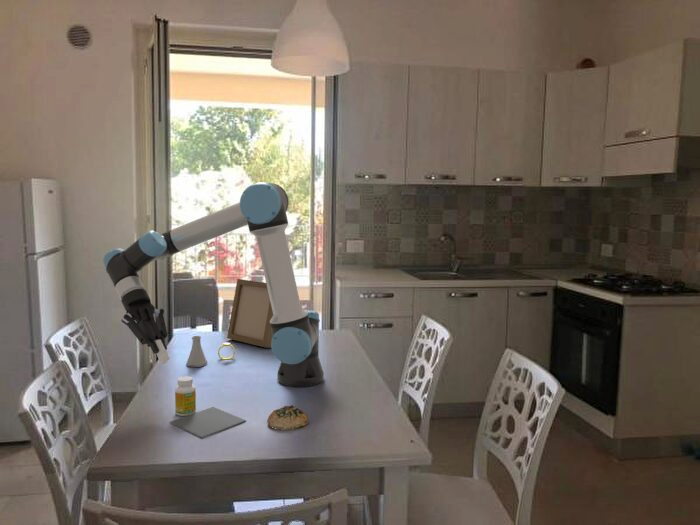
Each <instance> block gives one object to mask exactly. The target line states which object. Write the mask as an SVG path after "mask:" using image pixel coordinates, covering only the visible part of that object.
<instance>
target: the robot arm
mask: <svg viewBox="0 0 700 525" xmlns="http://www.w3.org/2000/svg"><path fill="white" fill-rule="evenodd" d="M288 207H289V196H288V194H287V192H286V191H285V189H284V188H283V187H282V186H280V185H279V184H276V183H272V182H267V181H259V182H257V183H253V184H251V185H249V186H247V187H246V188H245V189H244V190H243V192H242V193H241V196H240V198H239V202H237V203H234V204H232V205H229V206H227V207H225V208H222V209H219V210H217V211H214V212H211V213H210V214H207V215H204V216H202V217H199V218H198V219H194V220H192V221H190V222H188V223H184V224H182V225H180V226H178V227H175V228H173V229H170V230H168V231H165V232H163V233H159V232H157V231H155V230H149V231H147V232H146V233H145V234H142V235H141V236H140V237H139V238H137V240H136V241H134V242H133V243H132V244H130V245H129V246H128V247H127V248H126V249H123V248H115V249H113V250H111V251H108V252H107V253H106V254H105V255H104V257H103V259H102V260H103V261H102V262H103V265H104V267H105V271H106V273H107V274H108V276H109V278H110V280H111V282H112V285H113V287H114V289H115V290H116V293H117V294H118V297H119V299H120V300H121V301H120V302H121V304H122V306H123V308H124V310H125V311H126V313H125V314H124V315H123V316H122V319H121V320H120V321H121V322H122V324H125V325H126V326H127V327H128V328H129V330H130V331H131V333H132V334H133V335H134V336H135V337H136V338H137V340H138V341H139V343H140V344H141V345H146V346H147V347H148V348H149V347H150V349H151V351H152V353H153V354H154V355H156V356H157V358H158V360H159V362H160V364H161V365H165V364H167V363H168V362H169V360H170V359H171V358H170V356H169V354H168V351H167V349H168V347H167V345H166V342H165V339H166V338H167V337H168V331H167V326H166V322H165V317H164V313H165V309H163V308H160V309H157V308H156V307H155V306H154V304H152V301H151V298H150V296H149V294H148V292H147V290H146V288H145V286H144V284H143V282H142V280H141V278H140V276H139V274H138V273H139V272H140V271H141V270H142V269H144V268H145V267H146V266H148V265H149V264H150V263H151V262H154V261H158V260H160V259H164V258H170V257H171V256H174V255H175V254H177V253H180V252H182V251H185V250H187V249H190V248H193V247H195V246H197V245H199V244H202V243H205V242H207V241H210V240H212V239H215V238H218V237H220V236H222V235H225V234H229V232H233V231H235V230H237V229H240V228H242V227H245V226H248V231H249V233H250V234H252V236H255V238H256V242H257V246H258V252H259V256H260V261H261V264H262V270H263V274H264V279H265V283H266V284H267V289H268V293H269V298H270V302H271V307H272V311H273V317H272V318H271V320H270V326H271V330H272V335H273V337H272V342H271V352H272V354H273V355H274V356H275V358H276V359H277V361H280V364H279V367H278V371H277V376H276V378H277V379H276V380H277V382H278V383H280V384H281V385H284V386H288V387H298V388H299V387H311V386H315V385H318V384H321V383H322V382H323V381H324V369H323V366H322V364H321V361H320V357H319V356H320V355H319V348H320V347H319V346H320V345H319V344H320V340H319V339H320V331H319V330H320V316H319V315H320V314H319V312H317V311H315V310H311V309H310V310H308V309H303V308H302V305H301V300H300V296H299V292H298V287H297V283H296V277H295V273H294V268H293V264H292V259H291V254H290V250H289V245H288V240H287V236H286V229H287V227H288V226H289V221H288V217H287V210H289V209H288ZM155 318H156V319H155ZM155 320H156V321H155Z"/></svg>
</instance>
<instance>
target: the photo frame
mask: <svg viewBox="0 0 700 525" xmlns="http://www.w3.org/2000/svg"><path fill="white" fill-rule="evenodd" d="M272 317H273V311H272V307H271V302H270V298H269V293H268V289H267V284H266V282H262V281H256V280H249V279H242V278H237V279H236V286H235V290H234V297H233V302H232V308H231V313H230V319H229V323H228V329H227V336H226V338H227V339H229V340H234V341H236V342H243V343H245V344H250V345H252V346H253V345H254V346H259V347H262V348H271V342H272V337H273V335H272V330H271V326H270V320H271V318H272ZM271 349H272V348H271Z"/></svg>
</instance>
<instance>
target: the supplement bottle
mask: <svg viewBox="0 0 700 525" xmlns="http://www.w3.org/2000/svg"><path fill="white" fill-rule="evenodd" d="M174 392H175V393H174V395H175V396H174V399H175V400H174V401H175V402H174V403H175V404H174V405H175V406H174V408H175V414H176V415H177V416H180V417H185V416H188V415H191V414H194V413H196V411H197V408H196V407H197V402H196V398H197V397H196V386H195V385H194V379H193V377H192V376H180V377H178V378H177V386H175V389H174Z"/></svg>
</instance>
